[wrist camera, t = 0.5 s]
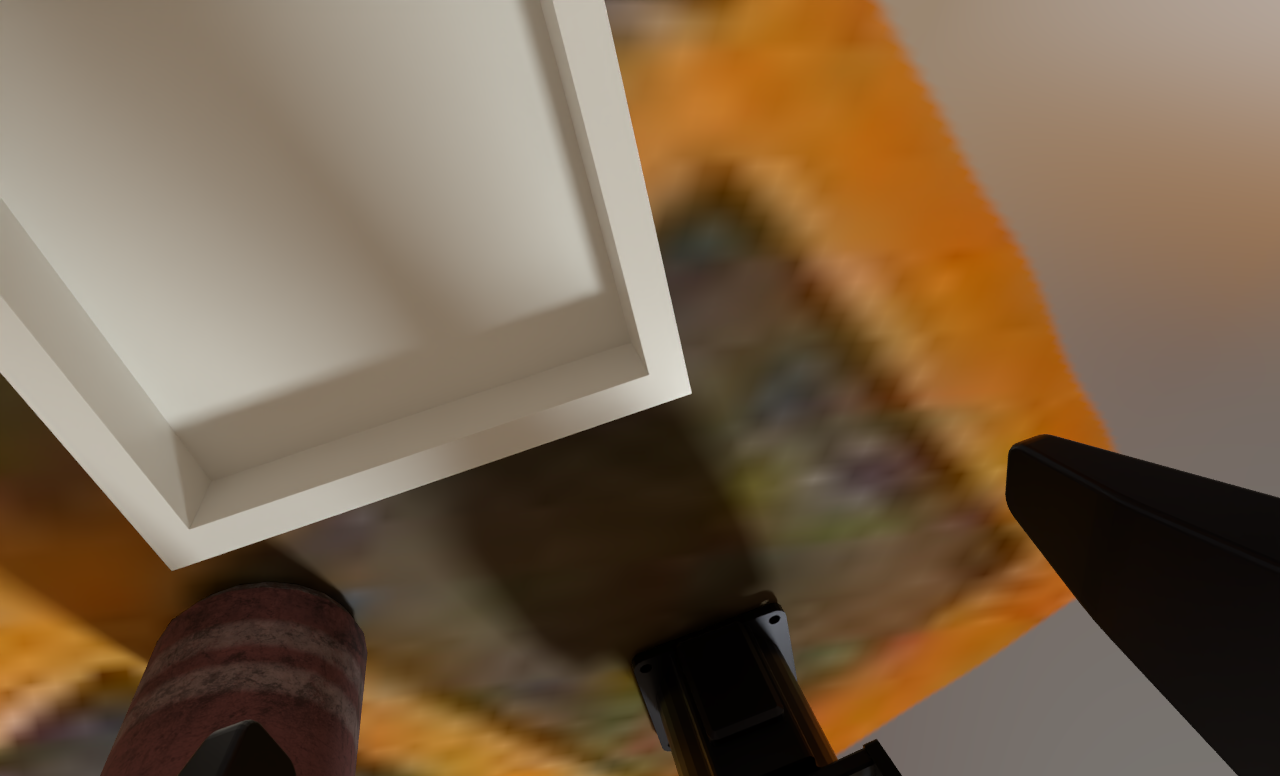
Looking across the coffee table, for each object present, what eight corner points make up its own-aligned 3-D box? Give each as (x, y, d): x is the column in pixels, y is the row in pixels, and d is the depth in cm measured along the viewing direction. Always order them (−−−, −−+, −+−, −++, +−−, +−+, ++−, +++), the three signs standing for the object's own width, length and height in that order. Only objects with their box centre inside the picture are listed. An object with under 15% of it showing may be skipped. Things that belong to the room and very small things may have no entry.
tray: (662, 348, 21) (691, 393, 19) (203, 502, 20) (171, 571, 17) (519, -251, 14) (537, -302, 11) (-238, -72, 12) (-396, -87, 10)
